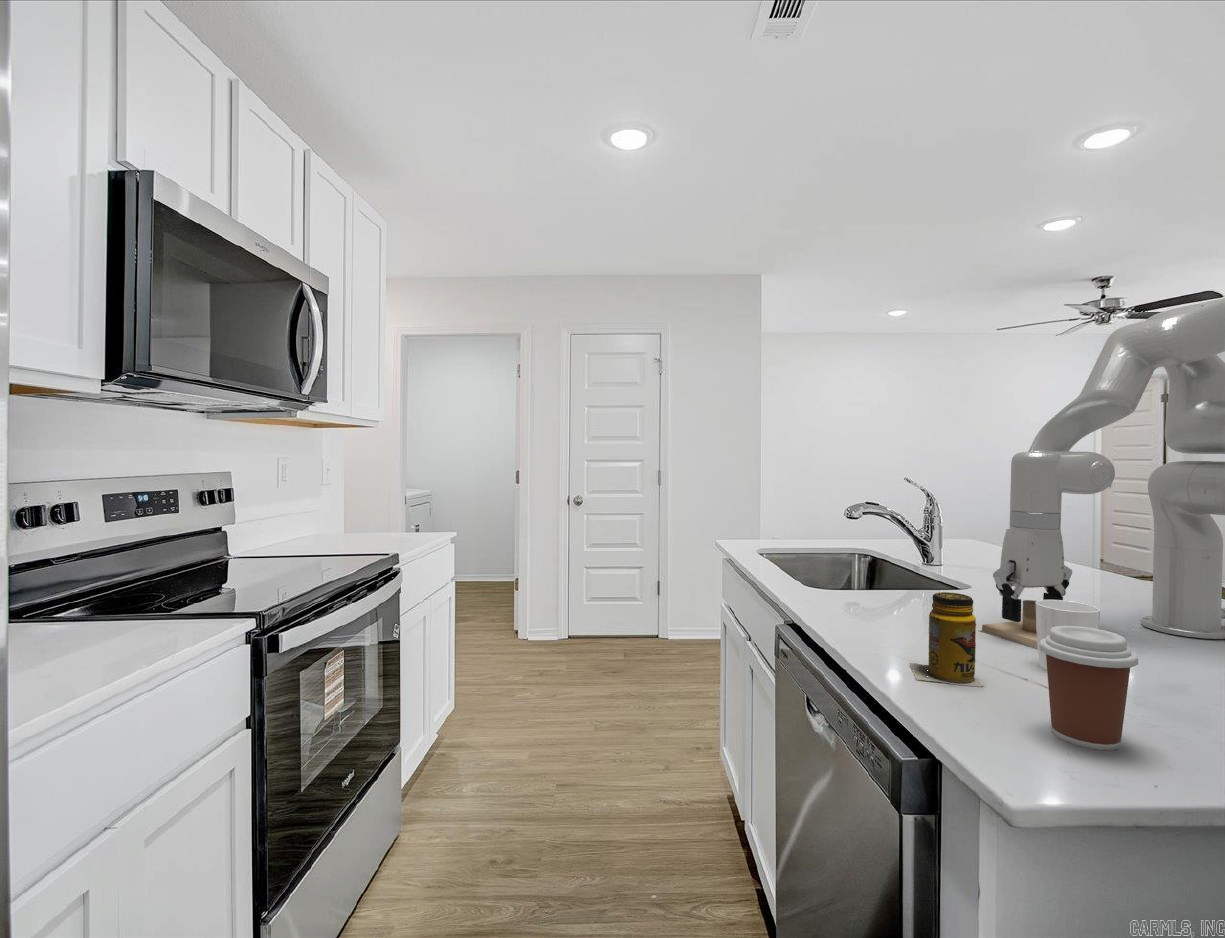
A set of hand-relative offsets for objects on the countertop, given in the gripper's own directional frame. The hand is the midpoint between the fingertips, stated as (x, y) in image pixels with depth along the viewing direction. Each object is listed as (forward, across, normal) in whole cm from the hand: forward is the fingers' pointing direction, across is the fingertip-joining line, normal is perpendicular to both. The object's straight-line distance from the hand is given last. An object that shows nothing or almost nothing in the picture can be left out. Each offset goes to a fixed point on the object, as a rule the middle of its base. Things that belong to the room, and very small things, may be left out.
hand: (1032, 618), depth 111 cm
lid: (+3, 0, 0) cm, 3 cm away
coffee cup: (+4, +31, +31) cm, 44 cm away
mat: (+4, 0, 0) cm, 4 cm away
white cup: (+4, +11, +14) cm, 18 cm away
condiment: (+4, +30, +10) cm, 32 cm away
